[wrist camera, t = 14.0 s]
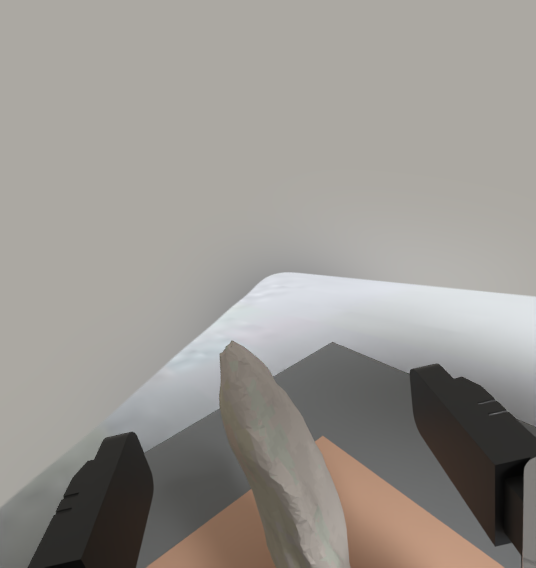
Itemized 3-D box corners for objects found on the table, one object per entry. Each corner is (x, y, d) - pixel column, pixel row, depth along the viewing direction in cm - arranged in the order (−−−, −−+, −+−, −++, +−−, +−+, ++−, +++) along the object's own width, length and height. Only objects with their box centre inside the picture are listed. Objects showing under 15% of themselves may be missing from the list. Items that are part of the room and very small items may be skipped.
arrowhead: (253, 510, 16) (189, 295, 13) (309, 488, 16) (261, 274, 13) (329, 802, 9) (224, 469, 5) (428, 747, 9) (387, 409, 6)
